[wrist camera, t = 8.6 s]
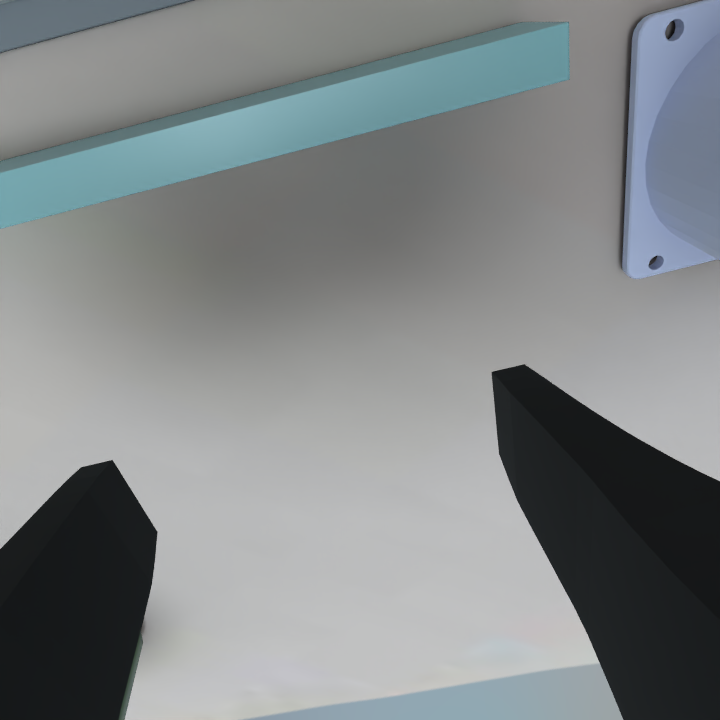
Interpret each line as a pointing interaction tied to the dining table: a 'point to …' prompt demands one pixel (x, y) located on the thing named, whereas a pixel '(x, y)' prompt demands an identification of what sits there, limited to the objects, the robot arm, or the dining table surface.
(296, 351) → the dining table surface
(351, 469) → the dining table surface
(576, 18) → the dining table surface
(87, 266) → the dining table surface
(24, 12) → the rubber mat
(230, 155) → the acrylic wall
